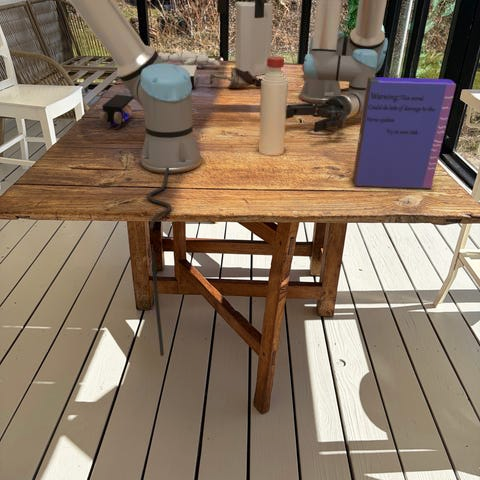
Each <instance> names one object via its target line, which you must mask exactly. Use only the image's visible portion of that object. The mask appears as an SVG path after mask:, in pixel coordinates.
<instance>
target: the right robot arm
mask: <svg viewBox="0 0 480 480" xmlns="http://www.w3.org/2000/svg"><path fill="white" fill-rule="evenodd" d="M387 1H388V0H358V4H357V5H358V6H357V13H356V20H355V27H354V28H353V29H352V30H351V31H350V33H349V35H345V33H344V31H342V30H340V23H341V15H342V6H343V0H316V4H315V5H316V6H315V15H314V25H313V26H314V27H313V35H311V37H310V39H309V46H308V53H307V54H305V56H304V62H303V64H304V72H303V77H304V78H305V80H304V83H303V86H302V88H301V90H300V96H299V98H300V99H301V100H302V101H303V102H304V101H305V102H306V103H295V104H293V103H292V104H287V107H286V120H288V119H292V118H294V117H295V116H312V117H313V118H322V119H319V120H317V121H314V125H313V133H318V132H322V131H324V130H328V129H330V128H333V129H334V128H336V127H337V129H338V130H341V129H343V127H344V126H345V124H346V123H347V122H348V121H349V120H350V118H353V117H355V116H356V117H357V116H359V115H362V112H363V105H364V98H365V91H366V85H367V78H368V77H376V73H378V72H379V71H380V70H381V68H382V66H383V64H384V61H385V58H386V53H387V50H388V44H389V40H388V38H387V37H385V36H386V35H385V32H384V30H383V29H382V27H383V23H384V18H385V11H386V7H387ZM340 82H347V83H348V87H343V88H341V84H340ZM346 91H348V92H346ZM342 92H345V93H342Z"/></svg>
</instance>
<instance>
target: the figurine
mask: <svg viewBox="0 0 480 480" xmlns="http://www.w3.org/2000/svg"><path fill="white" fill-rule="evenodd" d="M230 69H231V72H230V73H231V74H230V76H229V75H225V74H213V73H211V74H210V78H209V85H212V84H213V83H214V79H215V78H216V79H223V80H227V81H229V84H228V88H229V89H241V88H247V87H249V86H255V87H256V88H261V81H262V78H261V77H257V76H252V75H251V73H250V72H249V71H245V72H244V71H242V70H240V69H237V68H235V67H232V66H231V67H230Z"/></svg>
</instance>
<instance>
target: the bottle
mask: <svg viewBox="0 0 480 480" xmlns="http://www.w3.org/2000/svg"><path fill="white" fill-rule="evenodd" d="M261 79H262V81H261V87H260V104H259V129H258V130H259V131H258V153H260V154H262V155H266V156H278V155H282V154H283V153H284V152H285V136H286V120H287V119H286V109H287V105H288V92H289V91H288V90H289V88H288V87H289V81H288V78H287V77H286V75H285V73H283V70H282V67H281V68H272V67H270V70H269V71H268V73H266V74H264V75H263V77H261Z"/></svg>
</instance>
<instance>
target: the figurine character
mask: <svg viewBox="0 0 480 480" xmlns="http://www.w3.org/2000/svg"><path fill="white" fill-rule="evenodd" d="M133 100H135V99H134V98H133V97H132V96H131V95H122V94H115V95H113V96H112V97H111V98H110V99H108V100H107V102H105V103H104V104H102V110H101V111H100V112H99V116H98V117H99V119H98V120H99V122H100V123H101V124H107V123H109V124H108V125H107V127H106V128H107V129H111V127H113V126H116V130H118V129H119V128H120V127H121V126H122V125H121V124H124V122H125V121H127V120H129V119H130V118H131V116H132V114H133V111H132V108H131V106H130V105H129V103H130V102H132V101H133Z"/></svg>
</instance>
